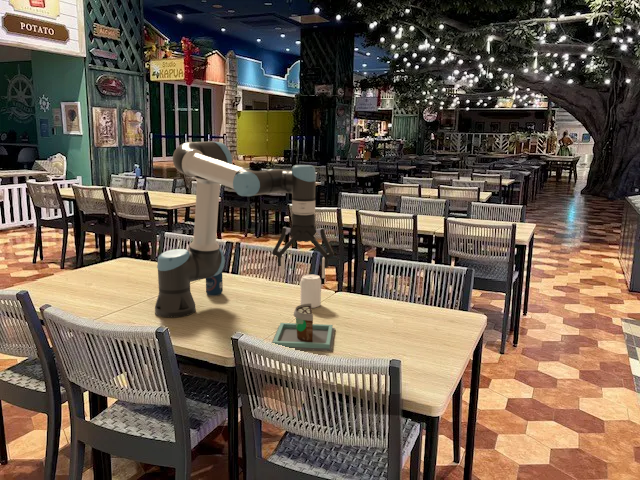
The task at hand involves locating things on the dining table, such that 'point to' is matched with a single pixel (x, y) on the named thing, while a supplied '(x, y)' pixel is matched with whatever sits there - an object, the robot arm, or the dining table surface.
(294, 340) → the container holder
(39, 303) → the dining table surface
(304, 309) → the food container
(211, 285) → the soda can
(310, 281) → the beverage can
